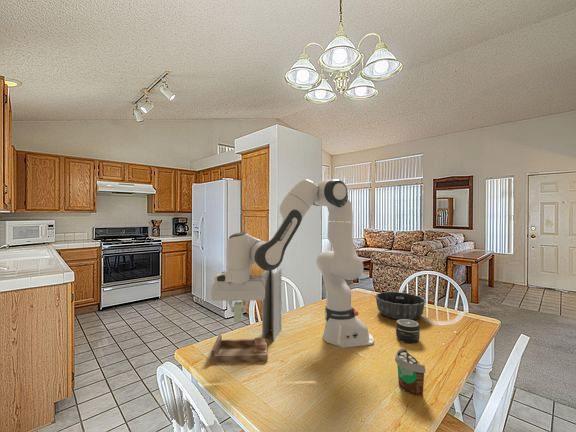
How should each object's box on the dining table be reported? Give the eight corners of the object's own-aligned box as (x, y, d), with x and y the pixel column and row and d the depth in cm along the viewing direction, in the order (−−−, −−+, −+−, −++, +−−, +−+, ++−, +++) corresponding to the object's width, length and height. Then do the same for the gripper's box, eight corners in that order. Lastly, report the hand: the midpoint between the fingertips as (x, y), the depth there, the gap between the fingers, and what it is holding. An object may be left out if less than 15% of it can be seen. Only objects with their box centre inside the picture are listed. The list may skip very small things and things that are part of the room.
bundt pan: (383, 304, 179) (383, 288, 179) (430, 313, 164) (430, 295, 164) (368, 317, 158) (368, 298, 158) (420, 328, 142) (420, 308, 142)
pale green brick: (242, 316, 113) (242, 299, 113) (240, 322, 107) (240, 304, 107) (236, 316, 112) (236, 299, 112) (234, 322, 106) (234, 304, 106)
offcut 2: (266, 347, 120) (266, 342, 120) (265, 357, 112) (265, 351, 112) (255, 348, 120) (255, 342, 120) (254, 357, 112) (254, 352, 112)
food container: (388, 376, 100) (388, 348, 100) (405, 376, 100) (405, 347, 100) (406, 399, 87) (406, 367, 87) (425, 398, 88) (425, 366, 88)
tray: (268, 345, 123) (268, 334, 123) (267, 362, 109) (267, 349, 109) (218, 346, 122) (218, 335, 122) (211, 364, 108) (211, 350, 108)
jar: (423, 339, 130) (423, 322, 130) (415, 346, 122) (415, 328, 122) (400, 333, 137) (401, 316, 136) (392, 339, 129) (392, 322, 129)
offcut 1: (264, 342, 120) (264, 337, 120) (265, 349, 113) (265, 344, 113) (254, 343, 119) (254, 338, 119) (255, 350, 113) (255, 345, 113)
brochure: (274, 342, 126) (274, 274, 126) (262, 341, 127) (262, 273, 127) (281, 329, 140) (281, 268, 140) (270, 328, 141) (270, 267, 141)
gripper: (266, 273, 113) (266, 308, 113) (213, 273, 112) (213, 309, 112) (265, 277, 106) (265, 314, 107) (209, 277, 106) (209, 314, 106)
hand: (238, 311), depth 109 cm, fingers closed on pale green brick, 2 cm apart
